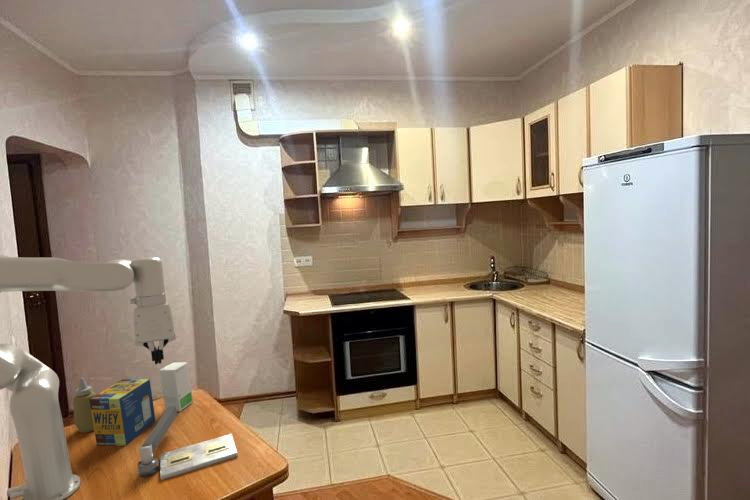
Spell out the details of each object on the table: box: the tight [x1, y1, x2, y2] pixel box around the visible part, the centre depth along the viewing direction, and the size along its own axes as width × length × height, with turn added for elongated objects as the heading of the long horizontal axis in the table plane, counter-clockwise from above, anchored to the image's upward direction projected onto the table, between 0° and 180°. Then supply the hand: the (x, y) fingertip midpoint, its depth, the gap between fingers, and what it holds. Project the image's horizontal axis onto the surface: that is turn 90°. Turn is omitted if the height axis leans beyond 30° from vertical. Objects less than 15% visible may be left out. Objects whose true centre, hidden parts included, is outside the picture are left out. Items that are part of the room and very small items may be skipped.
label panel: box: [159, 433, 239, 481], centre depth 129 cm, size 20×12×2 cm, turn 115°
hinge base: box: [137, 456, 160, 479], centre depth 123 cm, size 5×5×3 cm
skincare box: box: [158, 361, 194, 413], centre depth 162 cm, size 8×7×16 cm
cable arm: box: [138, 406, 178, 465], centre depth 134 cm, size 26×3×4 cm, turn 8°
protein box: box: [89, 378, 156, 447], centre depth 145 cm, size 10×15×16 cm
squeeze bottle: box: [72, 377, 97, 434], centre depth 150 cm, size 8×8×18 cm
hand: (158, 362), depth 129 cm, fingers closed
